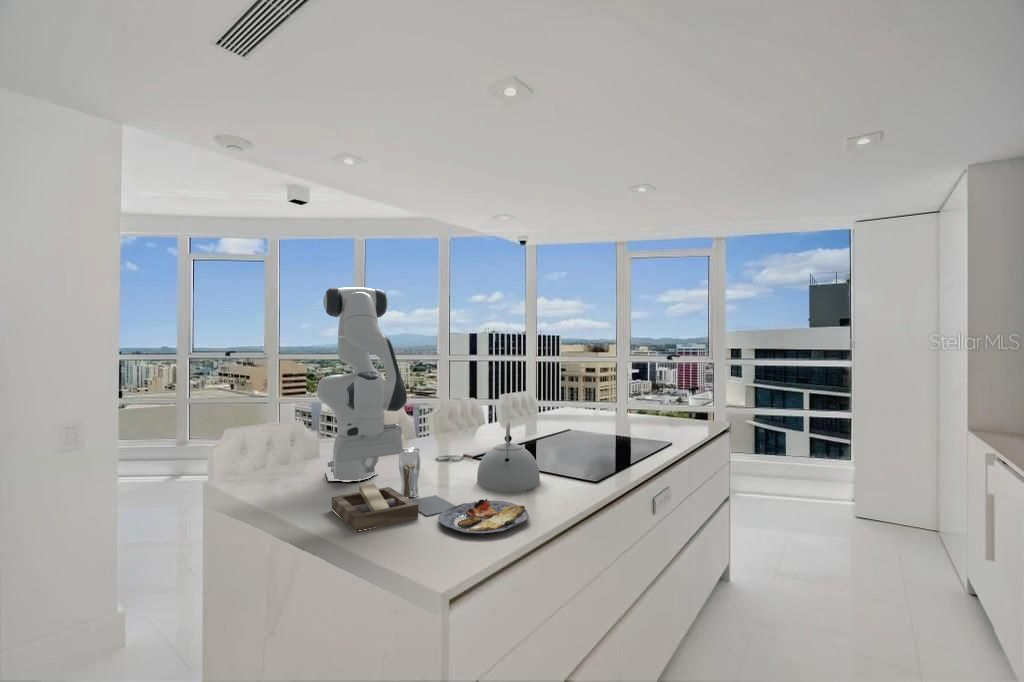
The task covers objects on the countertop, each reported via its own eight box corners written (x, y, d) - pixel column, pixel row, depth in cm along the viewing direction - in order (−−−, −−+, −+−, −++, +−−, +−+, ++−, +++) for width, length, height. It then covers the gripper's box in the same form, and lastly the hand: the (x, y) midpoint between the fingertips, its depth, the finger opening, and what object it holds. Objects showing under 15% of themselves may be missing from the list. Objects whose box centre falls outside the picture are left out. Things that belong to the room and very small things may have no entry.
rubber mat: (404, 502, 155) (404, 501, 155) (435, 496, 162) (435, 495, 162) (426, 516, 142) (426, 515, 142) (459, 509, 149) (459, 507, 149)
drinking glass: (399, 499, 159) (399, 452, 159) (398, 493, 165) (398, 448, 165) (421, 497, 160) (421, 451, 161) (419, 491, 167) (419, 447, 167)
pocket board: (331, 510, 148) (331, 497, 148) (389, 499, 159) (389, 486, 159) (355, 532, 130) (355, 517, 130) (418, 518, 141) (418, 504, 141)
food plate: (484, 501, 155) (483, 490, 155) (544, 518, 141) (544, 506, 141) (422, 526, 136) (422, 514, 136) (485, 549, 121) (484, 534, 121)
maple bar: (358, 490, 149) (359, 485, 148) (373, 488, 151) (373, 482, 151) (374, 517, 138) (375, 511, 137) (389, 514, 140) (390, 508, 140)
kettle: (541, 494, 164) (540, 425, 164) (473, 493, 165) (472, 426, 165) (538, 474, 189) (538, 415, 189) (479, 474, 190) (479, 415, 190)
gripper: (397, 421, 157) (397, 465, 157) (331, 428, 145) (331, 475, 145) (405, 424, 152) (405, 469, 152) (337, 431, 140) (337, 480, 140)
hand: (368, 472), depth 148 cm, fingers closed
